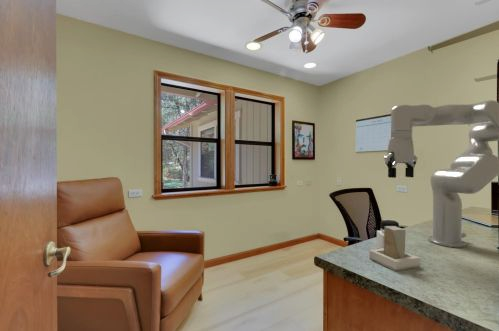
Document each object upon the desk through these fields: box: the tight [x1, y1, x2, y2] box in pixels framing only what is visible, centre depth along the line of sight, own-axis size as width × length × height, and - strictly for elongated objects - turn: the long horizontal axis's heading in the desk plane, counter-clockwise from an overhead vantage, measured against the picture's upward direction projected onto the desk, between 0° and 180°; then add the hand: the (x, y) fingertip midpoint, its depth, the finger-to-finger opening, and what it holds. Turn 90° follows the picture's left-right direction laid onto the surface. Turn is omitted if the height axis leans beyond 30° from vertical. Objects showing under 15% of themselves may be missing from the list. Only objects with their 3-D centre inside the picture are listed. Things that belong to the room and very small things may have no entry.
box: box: [384, 226, 406, 259], centre depth 83 cm, size 5×4×11 cm
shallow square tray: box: [368, 248, 421, 272], centre depth 82 cm, size 10×10×3 cm
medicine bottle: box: [376, 219, 400, 249], centre depth 93 cm, size 7×7×12 cm
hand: (400, 177), depth 99 cm, fingers open, 9 cm apart
